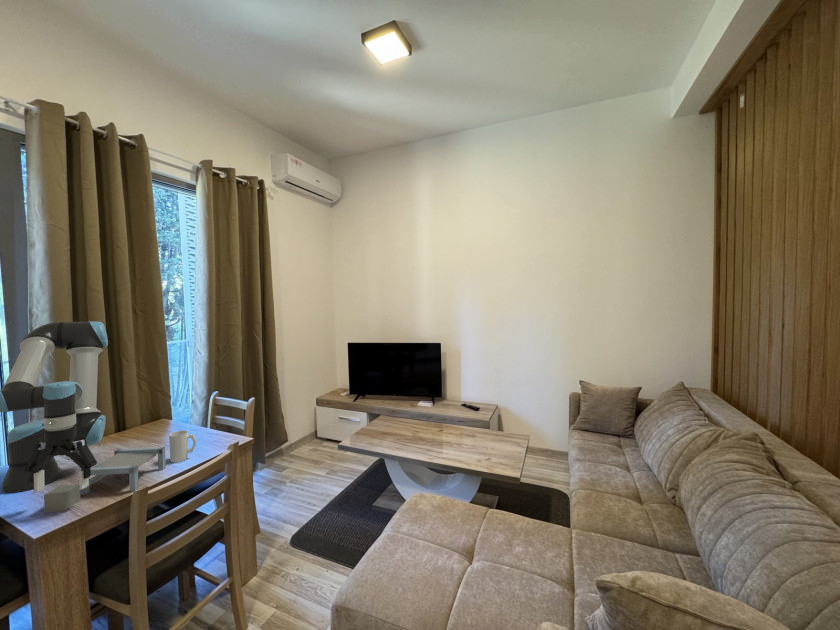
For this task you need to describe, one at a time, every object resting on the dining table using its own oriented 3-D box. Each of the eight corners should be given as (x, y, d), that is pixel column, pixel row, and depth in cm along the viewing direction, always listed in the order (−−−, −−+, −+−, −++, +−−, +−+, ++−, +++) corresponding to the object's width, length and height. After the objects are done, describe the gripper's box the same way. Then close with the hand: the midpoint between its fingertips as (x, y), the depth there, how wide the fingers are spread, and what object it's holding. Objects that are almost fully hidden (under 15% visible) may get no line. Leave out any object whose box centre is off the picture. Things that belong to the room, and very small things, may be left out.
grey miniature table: (79, 494, 122) (79, 470, 122) (118, 470, 141) (117, 449, 140) (135, 491, 125) (134, 467, 125) (165, 467, 143) (165, 446, 143)
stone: (44, 512, 112) (44, 494, 112) (61, 502, 118) (60, 485, 118) (64, 511, 113) (64, 493, 113) (80, 500, 119) (79, 484, 119)
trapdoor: (90, 471, 125) (90, 468, 125) (119, 454, 138) (119, 452, 138) (132, 471, 126) (132, 469, 126) (156, 455, 140) (156, 452, 140)
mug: (167, 464, 146) (166, 436, 146) (172, 457, 153) (172, 431, 152) (193, 460, 150) (193, 434, 149) (198, 454, 156) (198, 428, 156)
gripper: (6, 433, 109) (8, 498, 110) (92, 429, 113) (93, 492, 113) (30, 425, 117) (31, 486, 117) (109, 422, 120) (110, 480, 120)
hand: (62, 489), depth 115 cm, fingers open, 13 cm apart
